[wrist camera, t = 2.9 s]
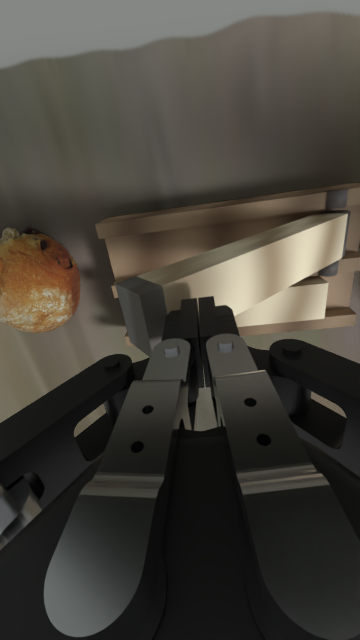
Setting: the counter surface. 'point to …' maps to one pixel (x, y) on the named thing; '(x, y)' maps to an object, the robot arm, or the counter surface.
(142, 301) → the hinged leg
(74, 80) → the counter surface
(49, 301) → the bread roll
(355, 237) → the wooden slat frame
